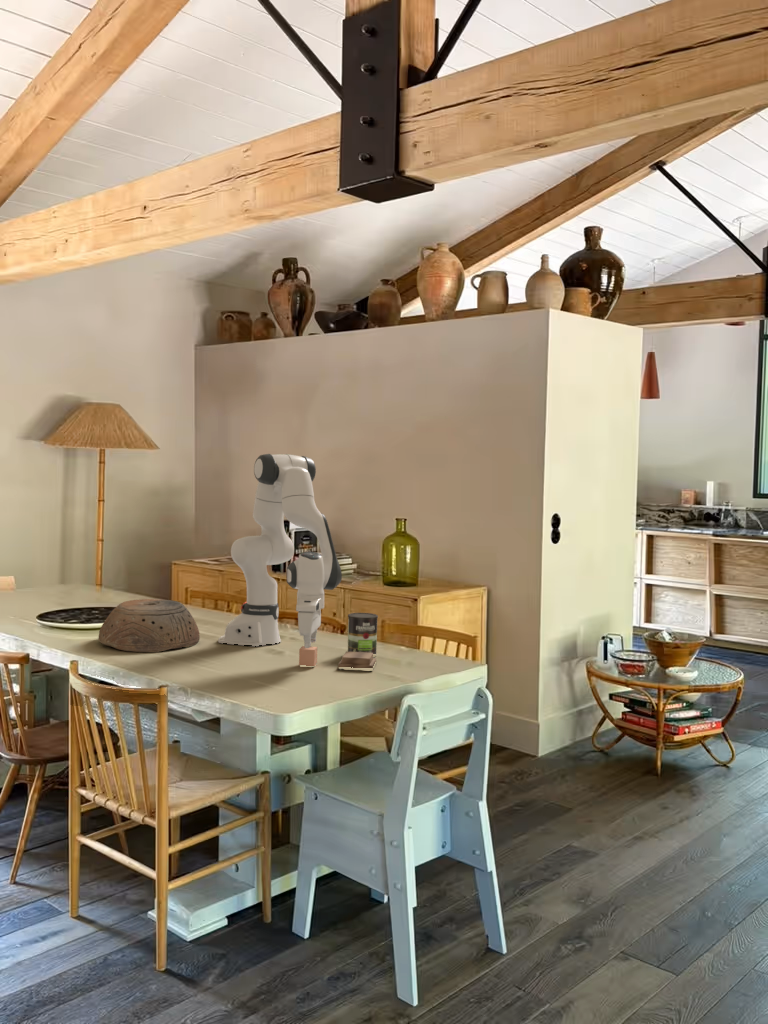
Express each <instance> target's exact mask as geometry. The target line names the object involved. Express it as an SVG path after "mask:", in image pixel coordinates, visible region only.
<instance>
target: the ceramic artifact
mask: <svg viewBox="0 0 768 1024" xmlns="http://www.w3.org/2000/svg"><path fill="white" fill-rule="evenodd" d="M200 638H201V637H200V629H199V627H198V625H197V623H196V620H195V618H194V617H193V615H192V614H191V612H190V611H189V609H188V608H187V607H186V606H185V605H184V604H183V603H181V602H180V601H176V600H169V599H159V598H143V599H131V600H126V601H122V602H121V603H119V604H118V605H117V606H115V608H114V609H112V611H111V612H110V613H109V614H108V615H107V617H106V619H105V620H104V622H103V623H102V625H101V627H100V628H99V632H98V641H99V643H101V644H102V645H105V646H108V647H112V648H113V649H117V650H119V651H120V650H121V651H123V652H136V653H160V652H159V651H163V652H164V651H168V650H174V649H183V648H182V647H187V648H189V647H188V646H191V647H193V646H192V645H194V646H195V645H196V644H198V642H200Z"/></svg>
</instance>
